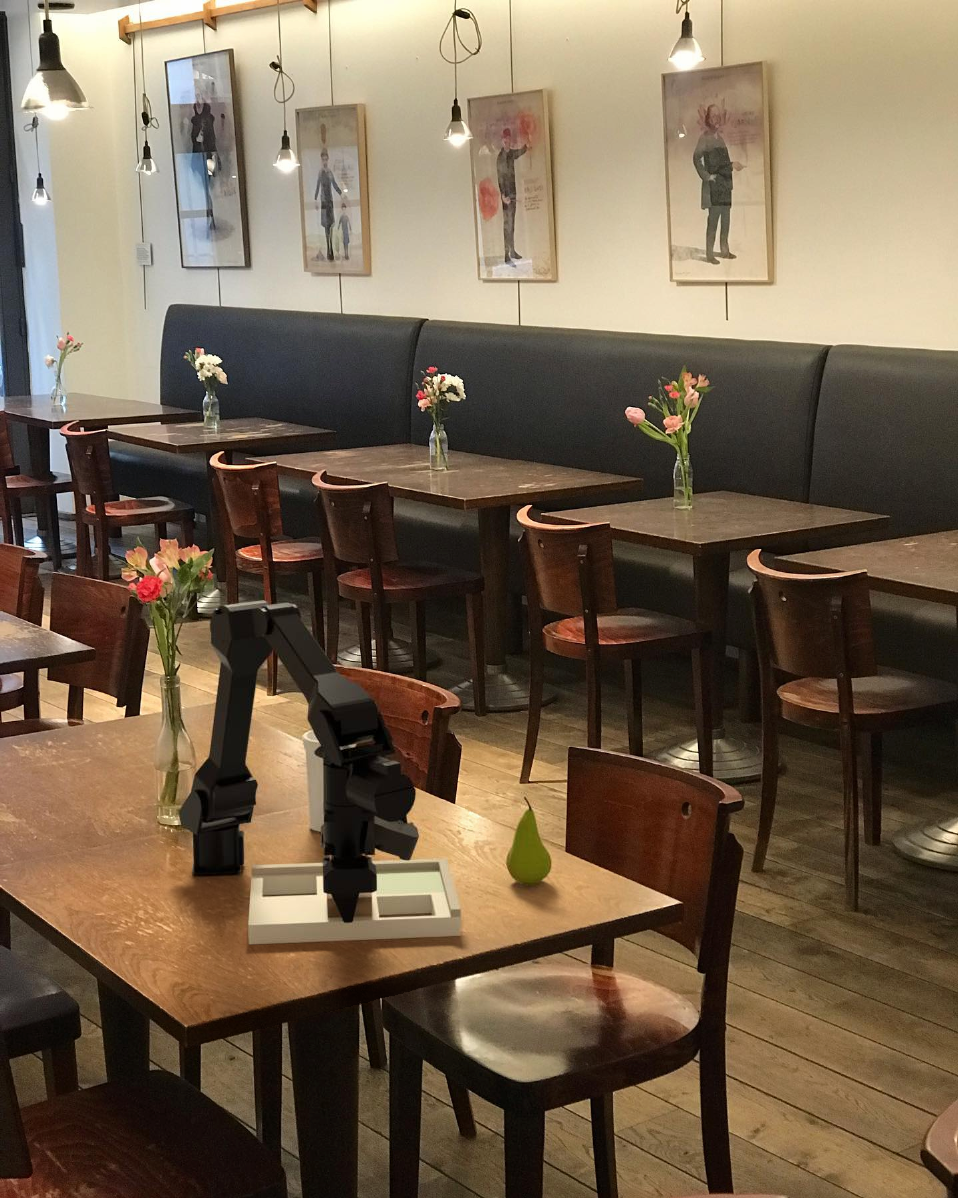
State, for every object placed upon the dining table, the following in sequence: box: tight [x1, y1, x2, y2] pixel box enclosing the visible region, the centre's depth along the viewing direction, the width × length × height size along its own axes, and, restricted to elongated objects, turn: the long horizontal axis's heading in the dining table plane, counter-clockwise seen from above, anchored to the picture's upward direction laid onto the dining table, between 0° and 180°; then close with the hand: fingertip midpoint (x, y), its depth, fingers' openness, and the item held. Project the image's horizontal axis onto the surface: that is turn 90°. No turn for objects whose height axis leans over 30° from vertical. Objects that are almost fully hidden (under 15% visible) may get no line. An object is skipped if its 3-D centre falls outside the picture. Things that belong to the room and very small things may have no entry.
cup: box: [301, 729, 357, 833], centre depth 236 cm, size 8×8×14 cm
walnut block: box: [327, 893, 372, 918], centre depth 200 cm, size 6×6×2 cm
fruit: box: [505, 796, 552, 887], centre depth 215 cm, size 6×6×12 cm
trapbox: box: [247, 857, 462, 945], centre depth 205 cm, size 26×18×4 cm
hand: (348, 921), depth 195 cm, fingers closed
